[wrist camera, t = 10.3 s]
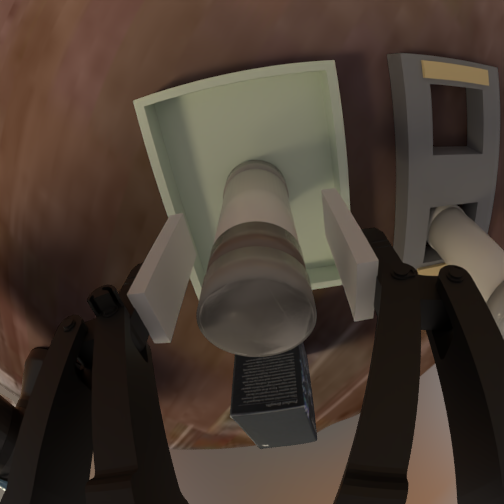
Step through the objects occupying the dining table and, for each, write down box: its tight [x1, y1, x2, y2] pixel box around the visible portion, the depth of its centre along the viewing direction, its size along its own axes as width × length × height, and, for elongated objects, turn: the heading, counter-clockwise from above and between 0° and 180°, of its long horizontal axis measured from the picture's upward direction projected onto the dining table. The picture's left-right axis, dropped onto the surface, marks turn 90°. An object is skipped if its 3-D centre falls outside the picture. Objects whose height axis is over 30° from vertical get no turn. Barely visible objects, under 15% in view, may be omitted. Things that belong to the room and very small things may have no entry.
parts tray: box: [133, 60, 350, 300], centre depth 20 cm, size 16×12×2 cm
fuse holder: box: [387, 53, 500, 276], centre depth 18 cm, size 18×9×2 cm, turn 11°
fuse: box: [426, 205, 504, 339], centre depth 16 cm, size 4×4×12 cm
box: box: [230, 342, 317, 449], centre depth 25 cm, size 8×6×11 cm
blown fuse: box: [197, 160, 317, 357], centre depth 15 cm, size 4×4×12 cm
